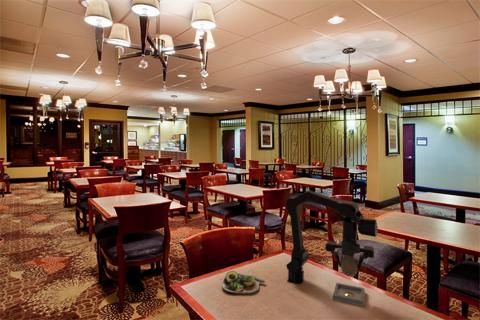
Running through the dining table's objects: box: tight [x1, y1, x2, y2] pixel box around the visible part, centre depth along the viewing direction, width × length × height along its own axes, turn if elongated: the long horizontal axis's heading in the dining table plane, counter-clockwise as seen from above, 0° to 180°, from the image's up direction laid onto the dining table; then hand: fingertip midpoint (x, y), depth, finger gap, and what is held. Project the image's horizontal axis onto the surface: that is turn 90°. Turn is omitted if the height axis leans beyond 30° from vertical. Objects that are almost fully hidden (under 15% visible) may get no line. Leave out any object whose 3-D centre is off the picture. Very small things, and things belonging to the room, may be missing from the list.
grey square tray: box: [331, 282, 366, 308], centre depth 120 cm, size 12×12×2 cm
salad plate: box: [221, 270, 266, 295], centre depth 130 cm, size 19×18×5 cm
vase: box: [340, 255, 359, 277], centre depth 119 cm, size 7×7×9 cm
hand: (349, 268), depth 119 cm, fingers closed on vase, 7 cm apart
